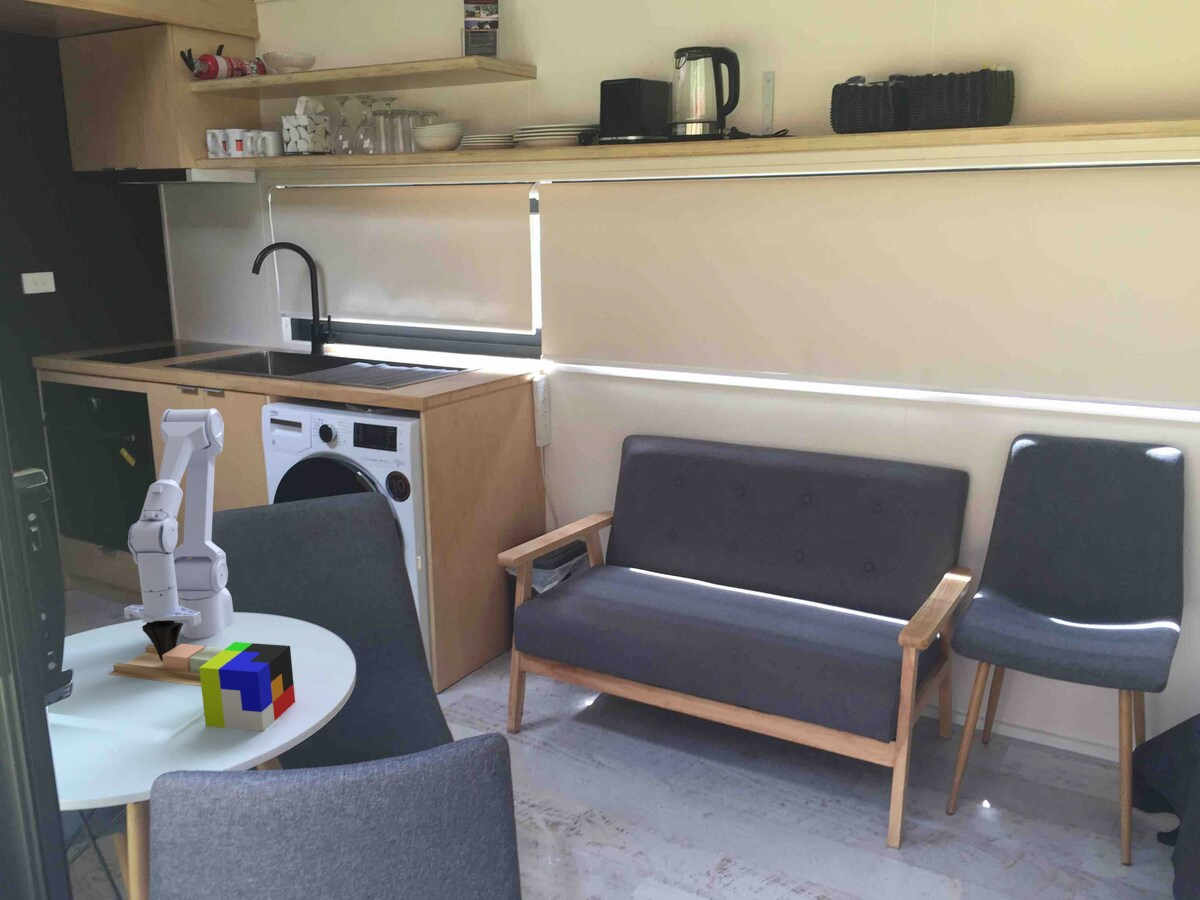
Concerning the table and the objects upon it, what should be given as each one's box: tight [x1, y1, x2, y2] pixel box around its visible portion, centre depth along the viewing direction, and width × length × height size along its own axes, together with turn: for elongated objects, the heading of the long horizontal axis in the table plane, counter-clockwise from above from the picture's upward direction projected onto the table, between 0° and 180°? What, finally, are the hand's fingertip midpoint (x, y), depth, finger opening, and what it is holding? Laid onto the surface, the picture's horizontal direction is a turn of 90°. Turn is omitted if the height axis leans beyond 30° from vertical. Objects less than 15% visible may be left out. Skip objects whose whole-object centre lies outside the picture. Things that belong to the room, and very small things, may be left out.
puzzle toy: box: [199, 641, 296, 732], centre depth 159 cm, size 10×10×10 cm
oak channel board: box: [108, 644, 226, 687], centre depth 175 cm, size 12×26×4 cm, turn 74°
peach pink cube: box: [162, 643, 206, 672], centre depth 175 cm, size 5×5×3 cm
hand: (167, 659), depth 176 cm, fingers closed
